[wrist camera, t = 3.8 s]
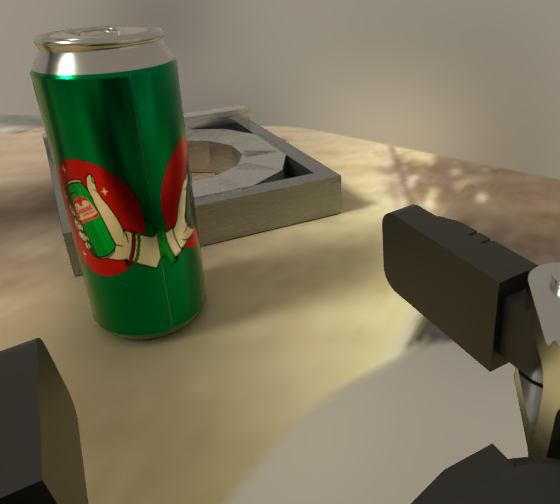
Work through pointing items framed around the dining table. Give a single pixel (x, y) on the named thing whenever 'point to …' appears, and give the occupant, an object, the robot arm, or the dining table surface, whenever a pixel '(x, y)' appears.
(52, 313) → the dining table surface
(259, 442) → the dining table surface
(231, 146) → the jig
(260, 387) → the dining table surface
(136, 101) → the soda can
